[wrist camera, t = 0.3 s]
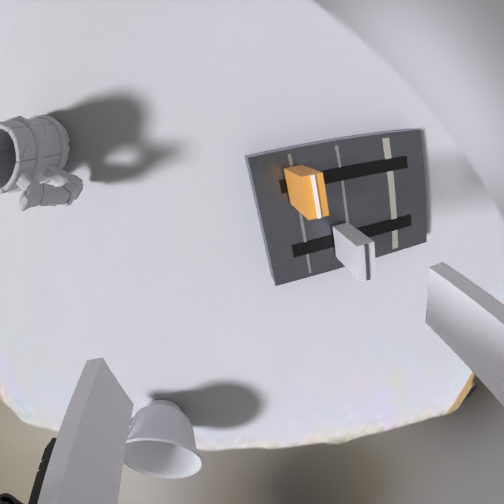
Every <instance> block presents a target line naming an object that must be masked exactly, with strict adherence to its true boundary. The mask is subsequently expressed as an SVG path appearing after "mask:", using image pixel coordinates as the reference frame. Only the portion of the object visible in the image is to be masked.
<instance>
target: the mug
mask: <svg viewBox="0 0 504 504" xmlns="http://www.w3.org/2000/svg"><path fill="white" fill-rule="evenodd" d="M69 143H70V138H69V135H68V132H67V130H66V129H65V127H64V126H63V125H62V124H60V123H59V122H58V121H57V120H56V119H54V118H53V117H50V116H47V115H39V116H34V117H31V118H29V119H25V118H23V117H22V116H18V117H14V118H11V119H8V120H6V121H5V122H0V194H3V193H6V192H9V193H12V192H17V191H20V190H23V191H24V192H23V193H22V194H21V196H20V200H19V205H20V209H21V210H22V211H24V210H26V209H28V208H30V207H34V206H56V205H57V204H62V205H70V204H71V203H72V202H73V200H75V199H77V197H78V196H79V195H80V193H81V191H82V189H83V183H82V179H80V178H79V177H78V176H75V175H73V174H70V173H68V172H66V171H64V170H62V169H63V168H64V166H65V165H66V163H67V161H68V158H69V154H70V153H67V152H70V146H69V145H68V144H69ZM51 180H52V181H54V182H55V183H57V184H59V185H60V186H59V187H54V186H53V185H49V184H45V183H48V182H50V181H51Z"/></svg>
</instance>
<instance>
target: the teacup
mask: <svg viewBox="0 0 504 504" xmlns="http://www.w3.org/2000/svg"><path fill="white" fill-rule="evenodd" d="M130 425H131V426H130V428H129V431H128V436H127V442H126V448H125V454H124V460H123V462H124V463H125V464H126V465H127V466H128V467H130V468H132V469H134V470H135V471H138V472H140V473H142V474H145V475H148V476H152V477H158V478H169V479H172V478H183V477H187V476H190V475H193V474H195V473H196V472H198V471H199V470H200V469H201V468H202V466H203V459H202V457H201V456H200V455H199V454H198V453H197V450H196V444H195V438H194V432H193V428H192V425H191V422H190V420H189V419H188V417H187V416H186V415H185V414H184V413H182V411H181V409H180V407H179V406H178V405H176V404H175V403H173V402H171V401H168V400H154V401H151V402H149V403H148V404H147V406H146V407H144V408H142V409H140V410H139V411H138V412H137V413H136V415H135V416H134V417H133V418H131V420H130Z"/></svg>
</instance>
